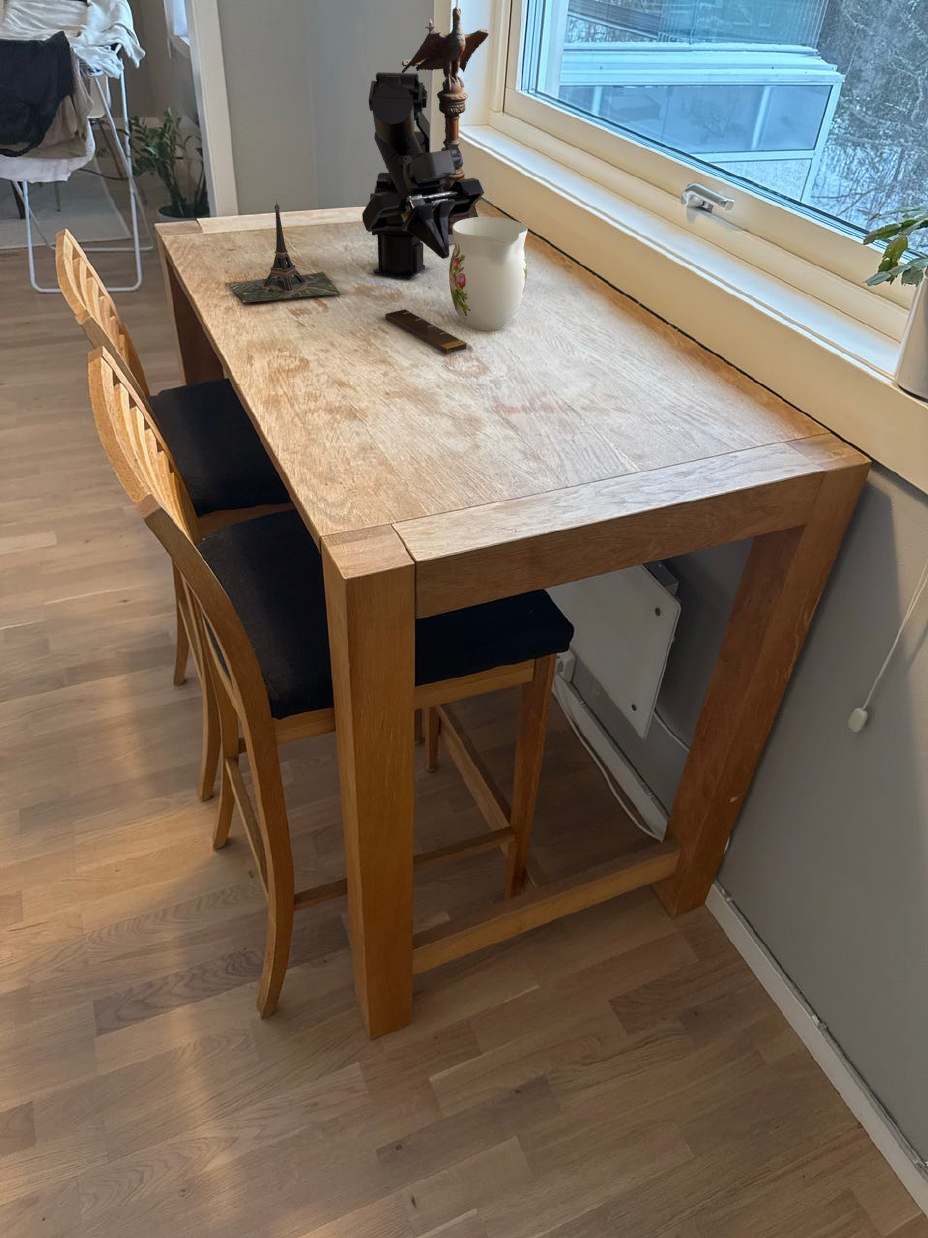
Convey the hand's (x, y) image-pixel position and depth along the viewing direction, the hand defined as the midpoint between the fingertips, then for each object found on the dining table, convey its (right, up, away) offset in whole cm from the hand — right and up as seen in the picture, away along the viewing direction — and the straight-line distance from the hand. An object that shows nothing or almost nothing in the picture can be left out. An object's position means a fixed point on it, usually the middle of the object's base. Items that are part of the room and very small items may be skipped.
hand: (446, 257), depth 133 cm
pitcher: (+6, -10, -1) cm, 11 cm away
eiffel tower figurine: (-25, -3, +6) cm, 26 cm away
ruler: (-3, -13, -6) cm, 15 cm away
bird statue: (-2, +17, +31) cm, 36 cm away
